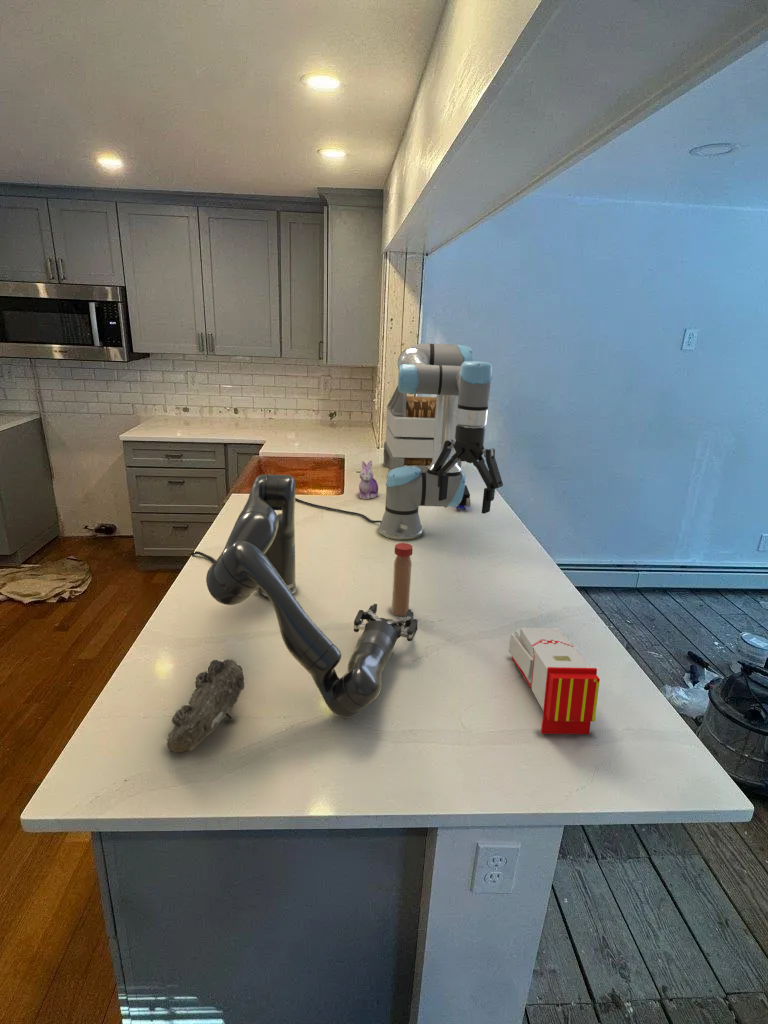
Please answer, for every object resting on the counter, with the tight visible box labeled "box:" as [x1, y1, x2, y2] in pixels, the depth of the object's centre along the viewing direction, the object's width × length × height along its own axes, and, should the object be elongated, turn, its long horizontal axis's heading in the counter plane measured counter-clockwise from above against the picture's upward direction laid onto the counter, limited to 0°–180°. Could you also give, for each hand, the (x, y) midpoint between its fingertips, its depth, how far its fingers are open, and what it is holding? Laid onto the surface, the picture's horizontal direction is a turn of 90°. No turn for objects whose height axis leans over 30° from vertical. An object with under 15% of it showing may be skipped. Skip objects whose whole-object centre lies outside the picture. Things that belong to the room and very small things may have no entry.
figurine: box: [358, 460, 379, 500], centre depth 236 cm, size 9×10×15 cm
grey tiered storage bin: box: [383, 385, 463, 472], centre depth 268 cm, size 34×33×41 cm
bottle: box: [390, 555, 413, 617], centre depth 146 cm, size 4×4×18 cm
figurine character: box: [455, 484, 471, 512], centre depth 229 cm, size 7×8×15 cm
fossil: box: [166, 658, 245, 754], centre depth 106 cm, size 22×10×15 cm
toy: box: [508, 627, 601, 735], centre depth 119 cm, size 12×13×30 cm
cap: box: [394, 542, 414, 557], centre depth 143 cm, size 4×4×2 cm
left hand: (392, 609), depth 137 cm, fingers open, 8 cm apart
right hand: (463, 505), depth 149 cm, fingers open, 13 cm apart
